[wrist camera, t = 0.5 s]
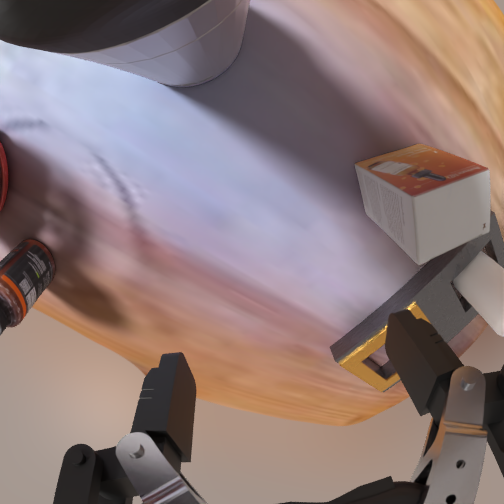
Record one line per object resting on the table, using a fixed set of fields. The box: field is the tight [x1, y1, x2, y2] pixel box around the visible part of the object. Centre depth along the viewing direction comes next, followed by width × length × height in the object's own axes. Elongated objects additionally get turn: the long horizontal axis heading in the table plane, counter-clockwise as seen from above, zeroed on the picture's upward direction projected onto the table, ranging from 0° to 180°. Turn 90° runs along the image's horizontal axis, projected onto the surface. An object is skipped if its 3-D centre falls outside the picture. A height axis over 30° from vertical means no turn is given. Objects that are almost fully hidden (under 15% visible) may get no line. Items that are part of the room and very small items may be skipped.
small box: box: [355, 144, 490, 265], centre depth 22 cm, size 8×6×10 cm
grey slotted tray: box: [330, 210, 504, 392], centre depth 33 cm, size 27×14×3 cm, turn 137°
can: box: [453, 251, 504, 337], centre depth 27 cm, size 6×6×12 cm
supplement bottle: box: [0, 239, 55, 335], centre depth 23 cm, size 6×6×11 cm
